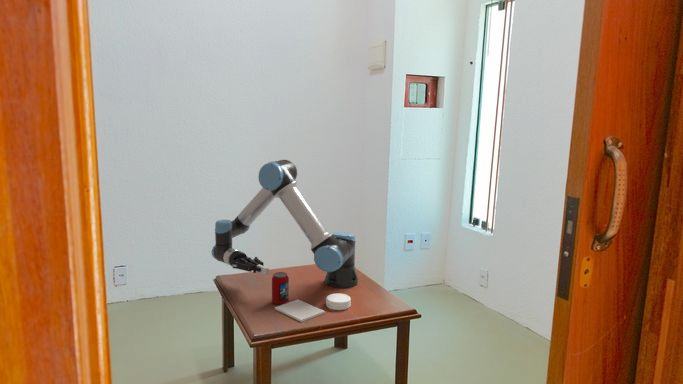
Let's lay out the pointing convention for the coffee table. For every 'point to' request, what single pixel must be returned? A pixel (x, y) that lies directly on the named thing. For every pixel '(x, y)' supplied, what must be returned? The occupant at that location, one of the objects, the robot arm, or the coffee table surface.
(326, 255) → the robot arm
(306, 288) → the coffee table surface
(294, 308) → the mat
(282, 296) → the beverage can
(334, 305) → the coaster
